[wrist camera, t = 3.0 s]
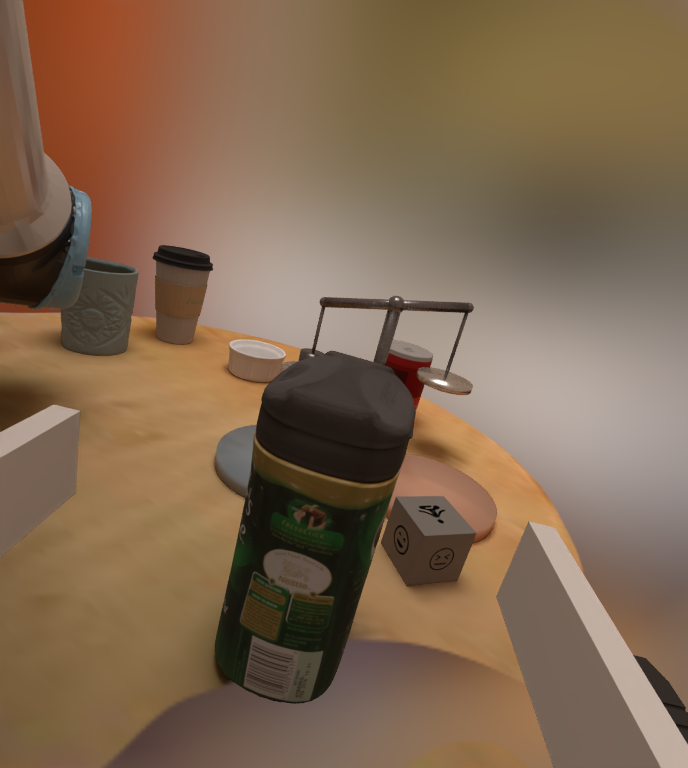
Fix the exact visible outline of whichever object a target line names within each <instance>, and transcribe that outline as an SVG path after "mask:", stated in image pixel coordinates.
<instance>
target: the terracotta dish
mask: <svg viewBox="0 0 688 768" xmlns="http://www.w3.org/2000/svg"><path fill="white" fill-rule="evenodd" d="M399 496H444V497H445V498H446V499H447V500H448V501H449V502H450V504H451V505H452V506H453V507H454V508H455V509H456V510H457V512H458V513H459V514H460V515H461V516H462V517H463V518H464V519H465V521H466V522H467V523H468V524H469V525H470V526H471V527H472V529H473V530H474V531H475V532H476V533H477V534H476V536H475V538H474V541H473V542H477V541H480V540H482V539H483V538H485V537H486V536H487V535H488V534H489V533H490V531H491V529H492V526H493V524H494V522H495V519H496V516H497V508H496V505H495V503H494V501H493V499H492V497H491V496H490V495H489V493H488V492H487V491H486V490H485V489H484V488H483V487H482V486H481V485H480V484H479V483H477V482H476V481H475V480H474V479H472V478H471V477H469V476H468V475H466V474H464V473H463V472H461V471H459V470H457V469H455V468H453V467H451V466H449V465H447V464H444V463H442V462H439V461H436V460H433V459H430V458H427V457H422V456H418V455H411V454H406V455H405V458H404V461H403V464H402V467H401V470H400V473H399V476H398V479H397V482H396V485H395V488H394V491H393V494H392V497H391V500H390V504H389V507H388V510H387V513H386V517H387V518H389V516H390V513H391V510H392V507H393V504H394V501H395V498H396V497H399Z"/></svg>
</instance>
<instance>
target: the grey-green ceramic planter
mask: <svg viewBox="0 0 688 768" xmlns="http://www.w3.org/2000/svg"><path fill="white" fill-rule="evenodd" d="M137 280H138V270H137V269H136V268H133V267H131V266H127V265H124V264H121V263H116V262H111V261H107V260H101V259H94V258H87V259H86V264H85V267H84V277H83V283H82V288H81V292H80V295H79V298H78V300H77V302H76V303H75V304H74V305H73V306H71V307H69V308H66V309H61V322H62V331H61V337H62V344H63V346H64V347H65V348H67V349H69V350H72V351H75V352H78V353H82V354H88V355H99V356H107V355H116V354H120V353H123V352H124V351H126V349H127V346H128V338H129V332H130V326H131V315H132V313H133V307H134V300H135V291H136V285H137Z"/></svg>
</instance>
